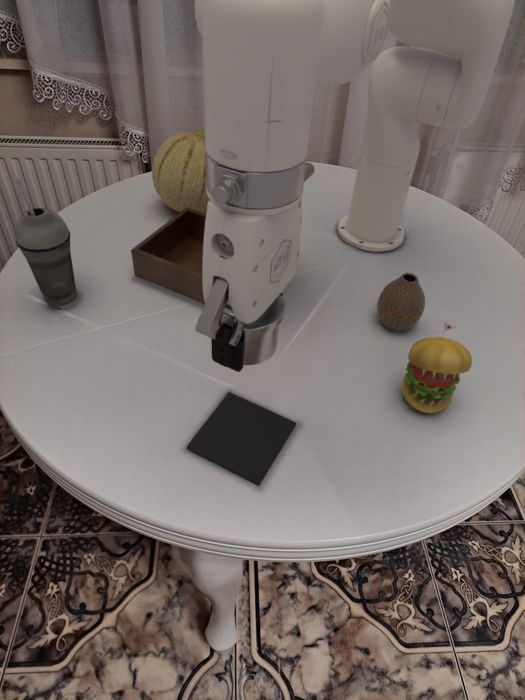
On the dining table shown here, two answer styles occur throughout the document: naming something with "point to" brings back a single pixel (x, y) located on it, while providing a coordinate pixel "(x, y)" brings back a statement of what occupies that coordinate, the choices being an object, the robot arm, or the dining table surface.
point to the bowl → (260, 332)
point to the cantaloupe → (182, 172)
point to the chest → (174, 255)
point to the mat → (242, 437)
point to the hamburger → (434, 372)
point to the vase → (401, 303)
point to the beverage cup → (47, 252)
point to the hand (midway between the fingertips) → (247, 340)
